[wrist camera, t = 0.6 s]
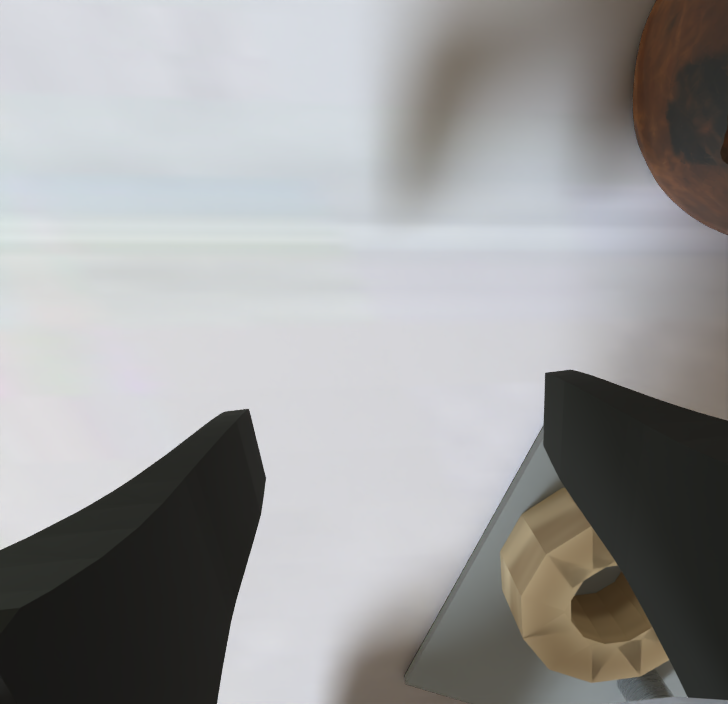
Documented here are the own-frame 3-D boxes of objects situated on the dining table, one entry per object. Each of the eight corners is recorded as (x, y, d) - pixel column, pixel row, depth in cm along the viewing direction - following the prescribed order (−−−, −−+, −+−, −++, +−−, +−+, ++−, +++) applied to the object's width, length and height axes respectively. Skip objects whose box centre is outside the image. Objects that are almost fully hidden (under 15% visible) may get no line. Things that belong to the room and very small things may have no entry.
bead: (614, 648, 26) (648, 701, 23) (471, 600, 25) (488, 650, 22) (702, 518, 24) (752, 558, 21) (552, 459, 23) (583, 493, 20)
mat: (637, 746, 29) (642, 755, 28) (404, 675, 26) (405, 684, 26) (813, 510, 25) (823, 516, 24) (555, 404, 22) (559, 408, 22)
